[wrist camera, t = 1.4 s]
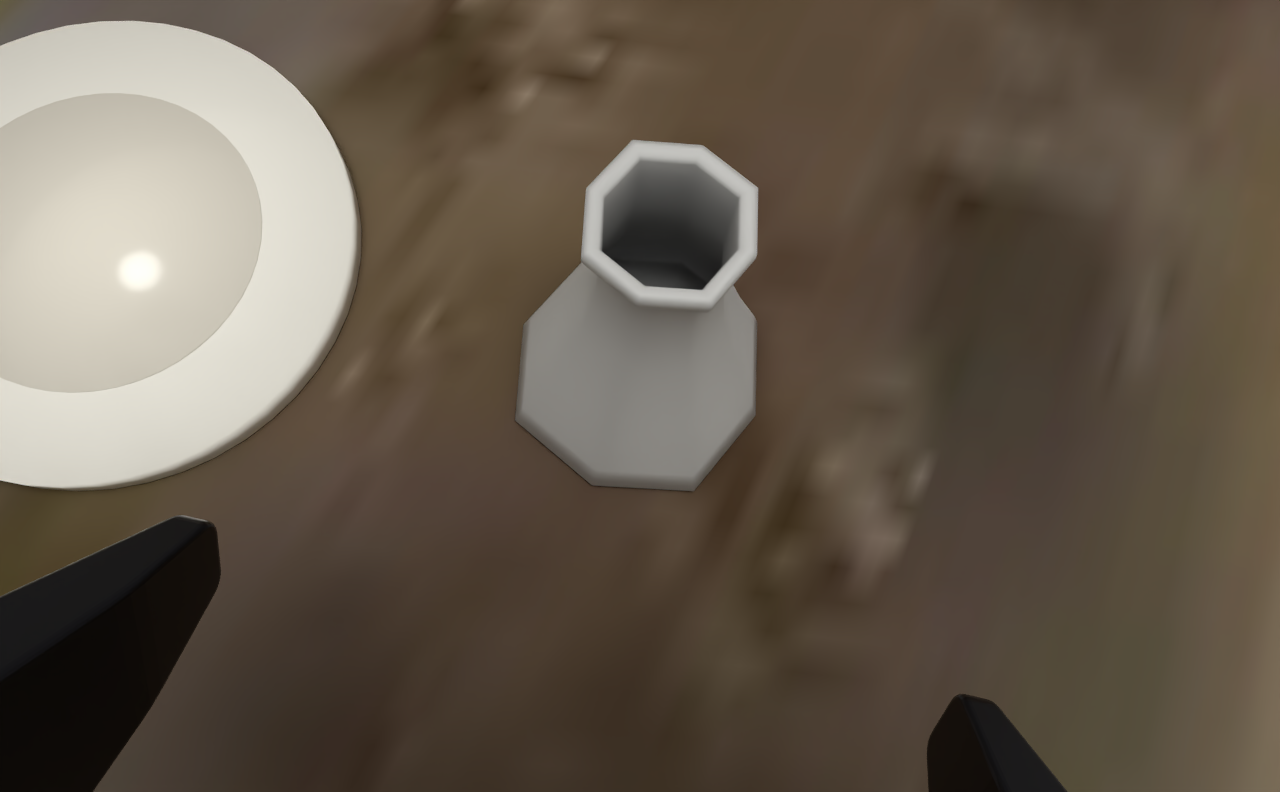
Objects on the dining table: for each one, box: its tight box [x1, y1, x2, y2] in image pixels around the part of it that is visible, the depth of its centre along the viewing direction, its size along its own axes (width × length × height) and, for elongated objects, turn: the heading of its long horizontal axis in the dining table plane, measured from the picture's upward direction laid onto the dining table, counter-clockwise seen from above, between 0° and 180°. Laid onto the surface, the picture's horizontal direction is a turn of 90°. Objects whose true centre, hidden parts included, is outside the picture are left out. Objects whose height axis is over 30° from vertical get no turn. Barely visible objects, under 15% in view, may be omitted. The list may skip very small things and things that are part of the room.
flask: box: [515, 140, 758, 491], centre depth 19 cm, size 7×7×10 cm
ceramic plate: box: [0, 21, 362, 491], centre depth 23 cm, size 14×14×1 cm
